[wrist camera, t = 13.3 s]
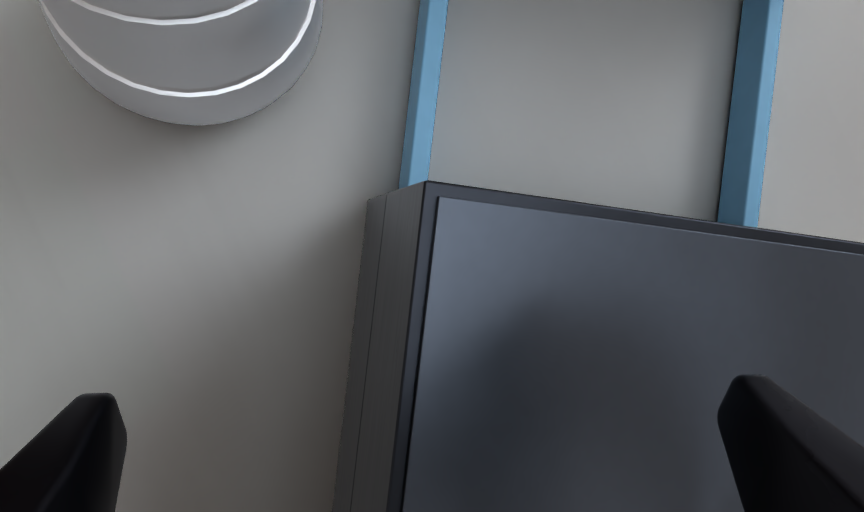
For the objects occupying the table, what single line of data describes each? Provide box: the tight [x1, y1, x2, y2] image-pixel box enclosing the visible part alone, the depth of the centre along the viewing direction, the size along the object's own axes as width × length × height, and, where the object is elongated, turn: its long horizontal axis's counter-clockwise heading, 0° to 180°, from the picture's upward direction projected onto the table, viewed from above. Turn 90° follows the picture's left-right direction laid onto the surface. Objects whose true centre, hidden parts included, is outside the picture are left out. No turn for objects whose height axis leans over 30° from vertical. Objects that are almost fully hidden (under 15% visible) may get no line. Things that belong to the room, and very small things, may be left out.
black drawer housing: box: [332, 180, 864, 512], centre depth 19 cm, size 14×14×8 cm
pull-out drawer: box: [399, 0, 784, 228], centre depth 20 cm, size 19×14×6 cm
